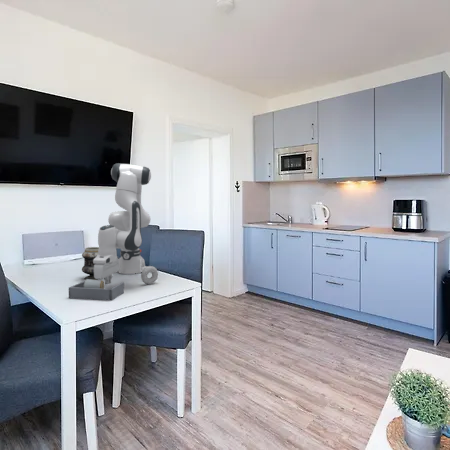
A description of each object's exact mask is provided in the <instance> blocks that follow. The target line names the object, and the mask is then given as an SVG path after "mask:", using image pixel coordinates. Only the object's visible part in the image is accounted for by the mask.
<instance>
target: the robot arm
mask: <svg viewBox="0 0 450 450" xmlns="http://www.w3.org/2000/svg"><path fill="white" fill-rule="evenodd" d="M110 175H111V178H112V180H114V181H115V182H116V183H117V184H116V188H115V195H114V200H115V203H116V204H117V205H118V207H119V208H122V209H123V210H118V211H113V212H111V213H110V214H109V216H108V220H107V221H108V225H103V226H101V227H99V229H98V234H97V235H98V236H97V244H98V247H99V250H98V255H97V256H96V258H94V260H93V263H94V264H95V265H94V277H95V279H98V280H103V281H104V285H106V286H108V285H109V284H111V283H112V277H113V275H114V274H116V273H119V274H121V275H133V274H135V273H136V274H141V272H142V271H143V270H144V268H146V267H148V266H149V265H148V266H146V263H145V259H144V257H143V256H141V253H142V249H140V247H141V245H143V237H142V236H143V235H142V229H143V228H146V227H148V226H149V225H150V223H151V216H150V214H149V212H148V211H146V210H145V209H144V208H143V205H142V186H145V185H148V184H149V183H150V181H151V180H152V172H151V169H150V168H149V167H147V166H142V165H137V164H130V163H121V162H120V163H119V162H118V163H117V162H116V163H115V164H113V165H112V168H111V170H110ZM117 249H119V250H120V253H119V254H120V257H119V256H117V252H118V251H117ZM136 274H135V275H136Z"/></svg>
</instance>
